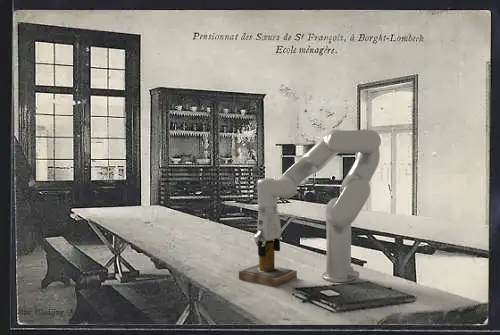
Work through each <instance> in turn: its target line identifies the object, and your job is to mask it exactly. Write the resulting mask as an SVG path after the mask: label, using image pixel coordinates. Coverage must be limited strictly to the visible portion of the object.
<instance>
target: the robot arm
mask: <svg viewBox="0 0 500 335" xmlns="http://www.w3.org/2000/svg"><path fill="white" fill-rule="evenodd" d="M381 144H382V138H381V135H380V134H379V132H377V131H376V130H373V129H369V128H363V129H359V130H358V129H356V130H355V129H354V130H343V129H342V130H341V129H332V130H330V131H328V132H327V133H325V135H324V136H323V137H322V138H320V140H318V141H317V142H316V143H315V144H314V145H313V146H312V147H311V148H309V150H308V151H307V152H306V153H305V154H304V155H302V156H301V157H300V158H299V159H298V160H297V161H296V162H295V163H294V164H292V165H291V167H289V168H288V169H287V170H286V171H285V172H284V173H282V175H280V177H279V178H278V179H275V178H271V177H270V178H269V177H268V178H267V177H266V178H260V179H258V180H257V183H256V185H257V188H256V189H257V213H258V216H257V222H256V223H257V224H256V225H257V226H256V227H257V229H256V230H257V232H256V234H255V235H254V236H253V239H254V241H255V244H256V247H257V255H258V257H259V256H262V257H265V256H266V249H265V246H264V245H265V243H266V241H271V240H273V244H274V245H273V246H274V252H280V251H281V238H282V233H283V228H282V227H281V221H280V220H281V219H280V214H279V212H278V198H284V199H287V198H289V199H290V198H292V197H294V196H295V195H296V193H297V190H298V187H299V185H300V184H301V183H302V182H304V180H306V179H307V178H308V177H310V176H312V175H314V174H316V173H318V172H320V171H321V170H322V169H323V168H325V166H326V165H328V164H329V162H331V161H332V160H333V159H334V158H335V157H336V156H337V155H338V154H356V155H357V156H356V158H355V161H354V163H353V165H352V166H351V168H350V169H349V171H348V173H347V174H346V176H345V177H344V179H343V180H342V183H341V193H340V195H339V197H334V198H331V200H329V201H328V202H327V204H326V206H325V207H326V208H325V222H326V225H325V226H326V227H325V228H326V229H325V230H326V239H325V240H326V244H325V246H326V252H325V253H326V258H325V259H326V262H325V263H326V265H325V266H326V267H325V268H326V270H325V272H322V278H323V279H324V280H326V281H329V282H333V283H346V282H352V281H354V280H355V279H356V278H357V279H358V278H360V271H357V270H354V267H353V266H352V224H353V222H355V220H356V219H357V217H358V216H359V214H360V212H361V211H362V209H363V208H364V206H365V205H366V202H367V201H368V199H369V197H370V193H371V185H370V181H371V180H372V178H373V176H374V174H375V172H376V170H377V169H378V166H379V163H380V156H381V155H380V154H381V152H380V146H381ZM261 241H263V242H261Z"/></svg>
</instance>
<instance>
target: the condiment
mask: <svg viewBox="0 0 500 335" xmlns="http://www.w3.org/2000/svg"><path fill="white" fill-rule="evenodd" d="M261 242H263V241H261ZM273 245H274V244H273V240H271V241H266V243H265V245H264V246H265V249H266V256H265V257H262V256H258V264H259V267H258V270H259V272H277V271H281V270H280V269H279V266H275V251H274V246H273ZM274 266H275V267H274Z"/></svg>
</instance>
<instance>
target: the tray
mask: <svg viewBox="0 0 500 335" xmlns="http://www.w3.org/2000/svg"><path fill="white" fill-rule="evenodd" d="M258 267H259V263H258V264H256V265H252V266H251V267H248V268H245V269H242V270H239V271H238V279H239V280H241V281H247V282H250V283H255V284H259V285H265V286H269V287H273V288H274V287H275V288H278V287H280V286H282V285H285V284H287V283H290V282H292V281H294V280H296V279H298V278H297V277H298V272H297V270H294V269H291V268H290V269H289V268H284V267H279V266H278V267H279V269H280V270H281V271H277V272H259V270H258ZM274 267H276V265H274ZM295 278H296V279H295ZM293 279H294V280H293ZM291 280H292V281H291ZM289 281H290V282H289Z"/></svg>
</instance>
